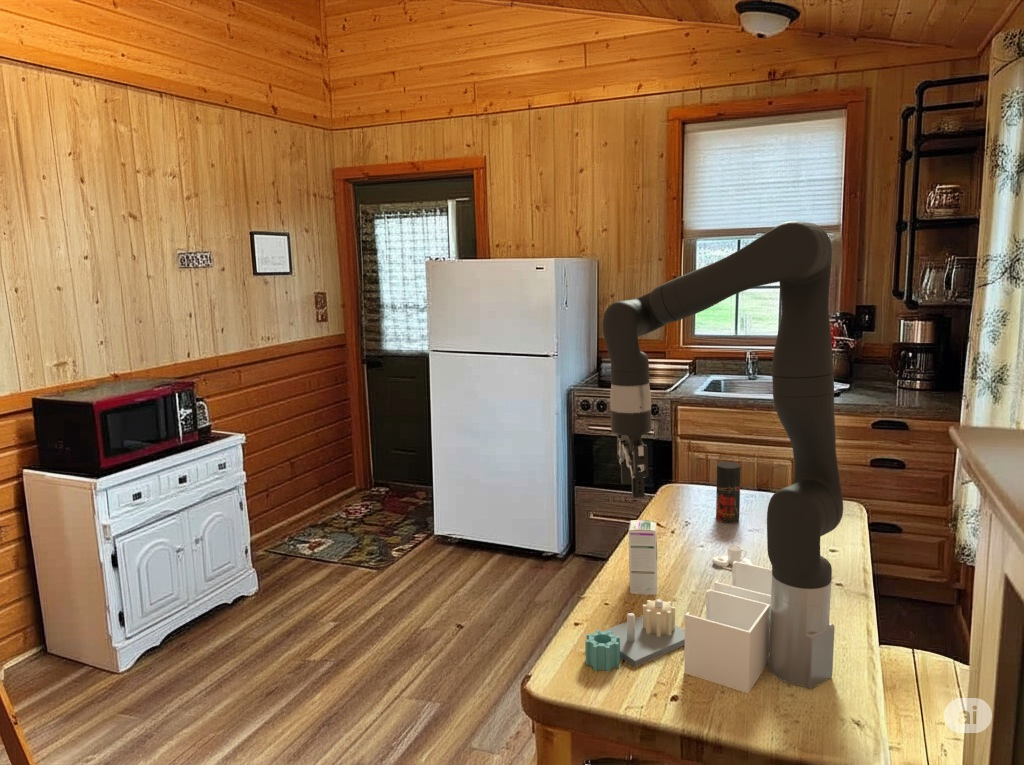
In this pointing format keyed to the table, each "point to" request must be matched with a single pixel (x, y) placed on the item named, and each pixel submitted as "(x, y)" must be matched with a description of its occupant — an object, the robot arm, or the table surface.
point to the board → (649, 633)
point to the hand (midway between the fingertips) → (632, 490)
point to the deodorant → (728, 492)
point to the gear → (602, 650)
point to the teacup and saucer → (731, 557)
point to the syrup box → (643, 557)
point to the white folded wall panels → (732, 630)
